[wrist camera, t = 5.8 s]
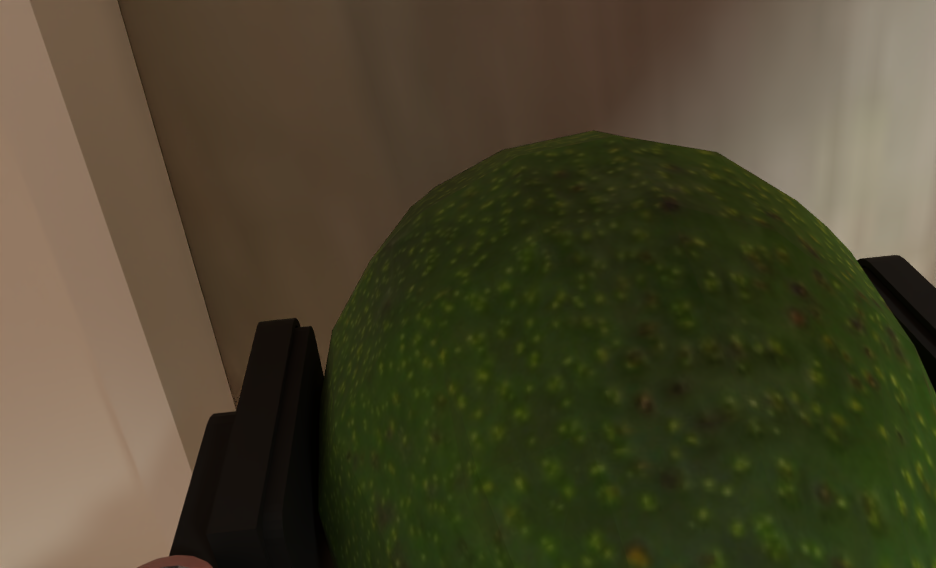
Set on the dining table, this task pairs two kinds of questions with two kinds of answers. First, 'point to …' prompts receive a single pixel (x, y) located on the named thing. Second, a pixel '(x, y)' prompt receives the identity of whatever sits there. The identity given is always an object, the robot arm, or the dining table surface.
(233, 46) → the dining table surface
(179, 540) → the robot arm
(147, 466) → the tray
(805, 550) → the avocado
